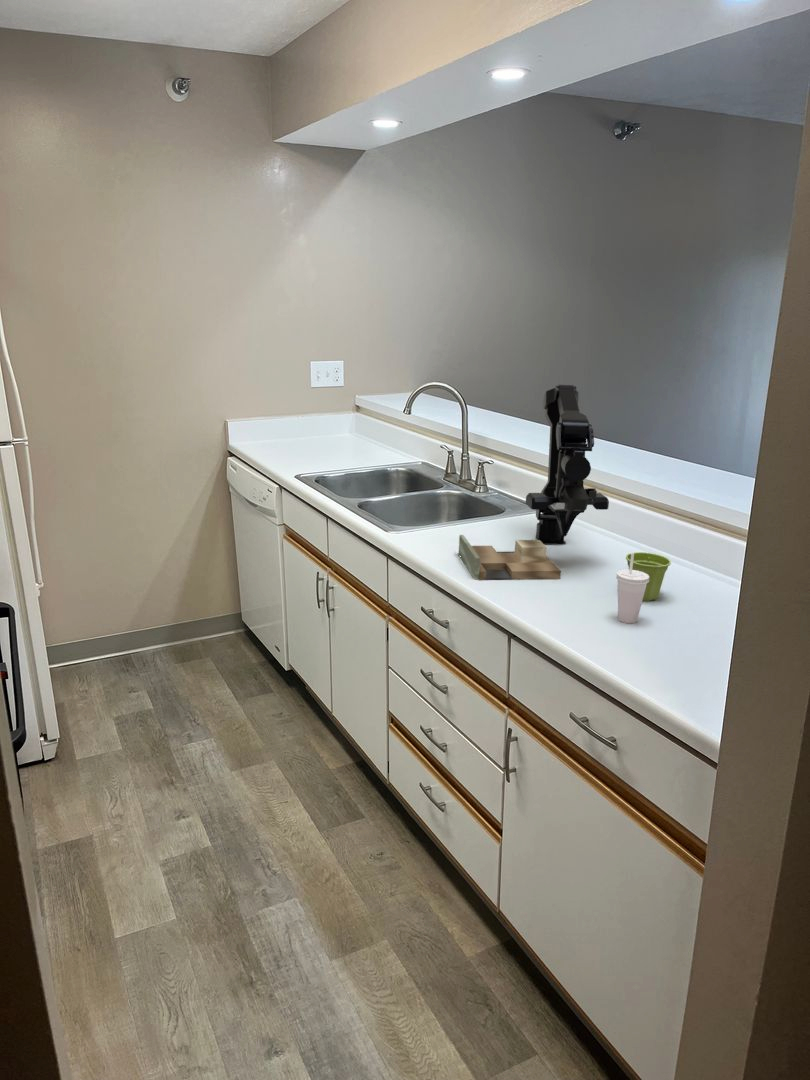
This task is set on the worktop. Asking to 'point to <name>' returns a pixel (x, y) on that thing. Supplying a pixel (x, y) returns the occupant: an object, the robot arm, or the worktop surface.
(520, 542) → the birch block
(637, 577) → the smoothie
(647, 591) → the plant pot
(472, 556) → the board
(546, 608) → the worktop surface
